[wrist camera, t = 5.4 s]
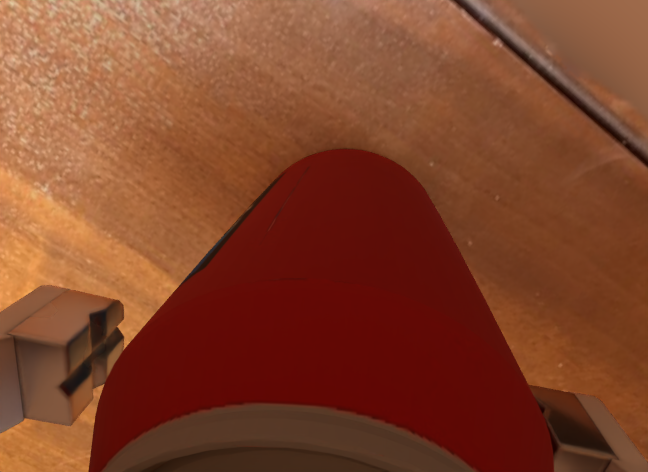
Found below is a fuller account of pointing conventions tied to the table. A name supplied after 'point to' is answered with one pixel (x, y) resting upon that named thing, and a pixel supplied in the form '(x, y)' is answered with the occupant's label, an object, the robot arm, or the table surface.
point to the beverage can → (324, 345)
